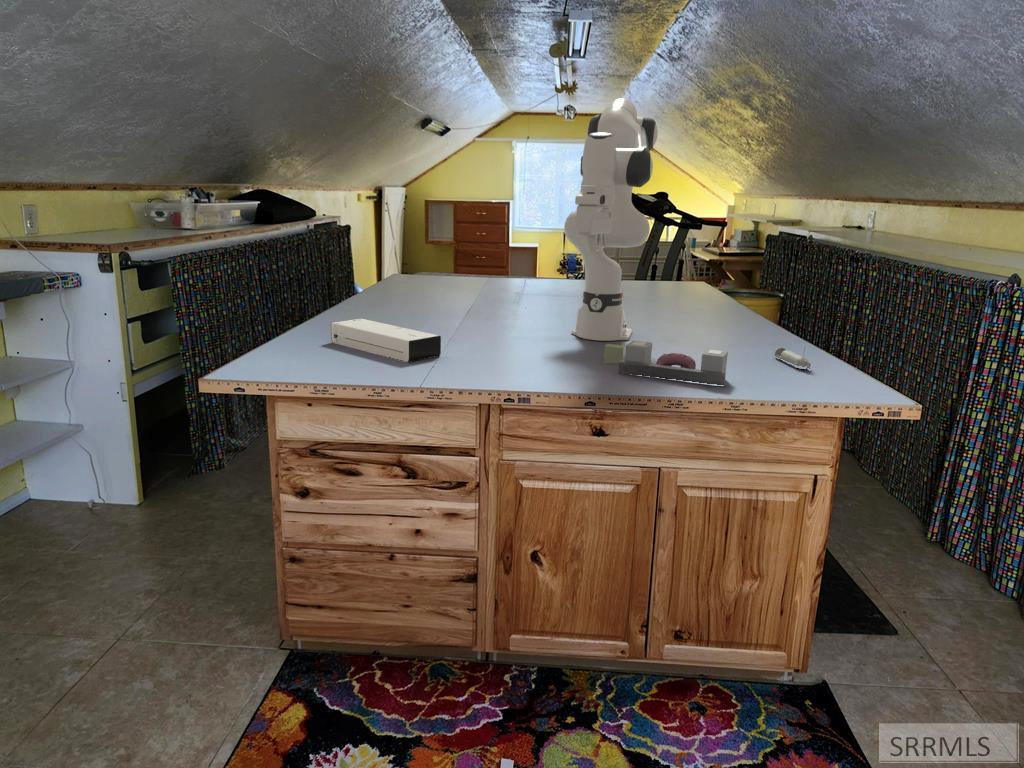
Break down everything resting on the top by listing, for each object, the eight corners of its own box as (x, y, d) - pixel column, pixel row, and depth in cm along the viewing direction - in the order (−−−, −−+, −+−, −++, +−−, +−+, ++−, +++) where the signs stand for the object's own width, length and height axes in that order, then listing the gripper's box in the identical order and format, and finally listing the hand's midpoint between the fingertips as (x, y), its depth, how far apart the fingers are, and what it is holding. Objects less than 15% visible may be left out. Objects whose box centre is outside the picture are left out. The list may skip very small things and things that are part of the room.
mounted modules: (631, 367, 192) (633, 339, 190) (724, 379, 183) (727, 350, 181) (623, 373, 186) (626, 344, 184) (720, 385, 177) (723, 355, 175)
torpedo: (768, 358, 209) (771, 336, 207) (784, 358, 210) (787, 336, 208) (800, 374, 192) (804, 349, 190) (817, 374, 193) (821, 349, 191)
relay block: (605, 359, 201) (606, 343, 199) (623, 361, 199) (624, 345, 198) (603, 363, 197) (604, 346, 196) (622, 364, 196) (623, 348, 195)
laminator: (440, 358, 198) (440, 335, 197) (406, 365, 189) (406, 341, 188) (362, 338, 220) (362, 318, 218) (328, 344, 211) (327, 323, 209)
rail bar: (620, 372, 187) (620, 359, 186) (724, 386, 176) (725, 373, 175) (617, 374, 184) (618, 361, 184) (722, 388, 174) (724, 375, 173)
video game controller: (694, 384, 184) (697, 357, 185) (693, 379, 180) (697, 352, 181) (654, 379, 187) (658, 353, 188) (653, 375, 183) (657, 348, 184)
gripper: (597, 197, 201) (594, 248, 205) (572, 197, 183) (570, 253, 187) (620, 198, 199) (616, 249, 202) (597, 198, 181) (593, 254, 184)
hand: (594, 251), depth 195 cm, fingers closed
